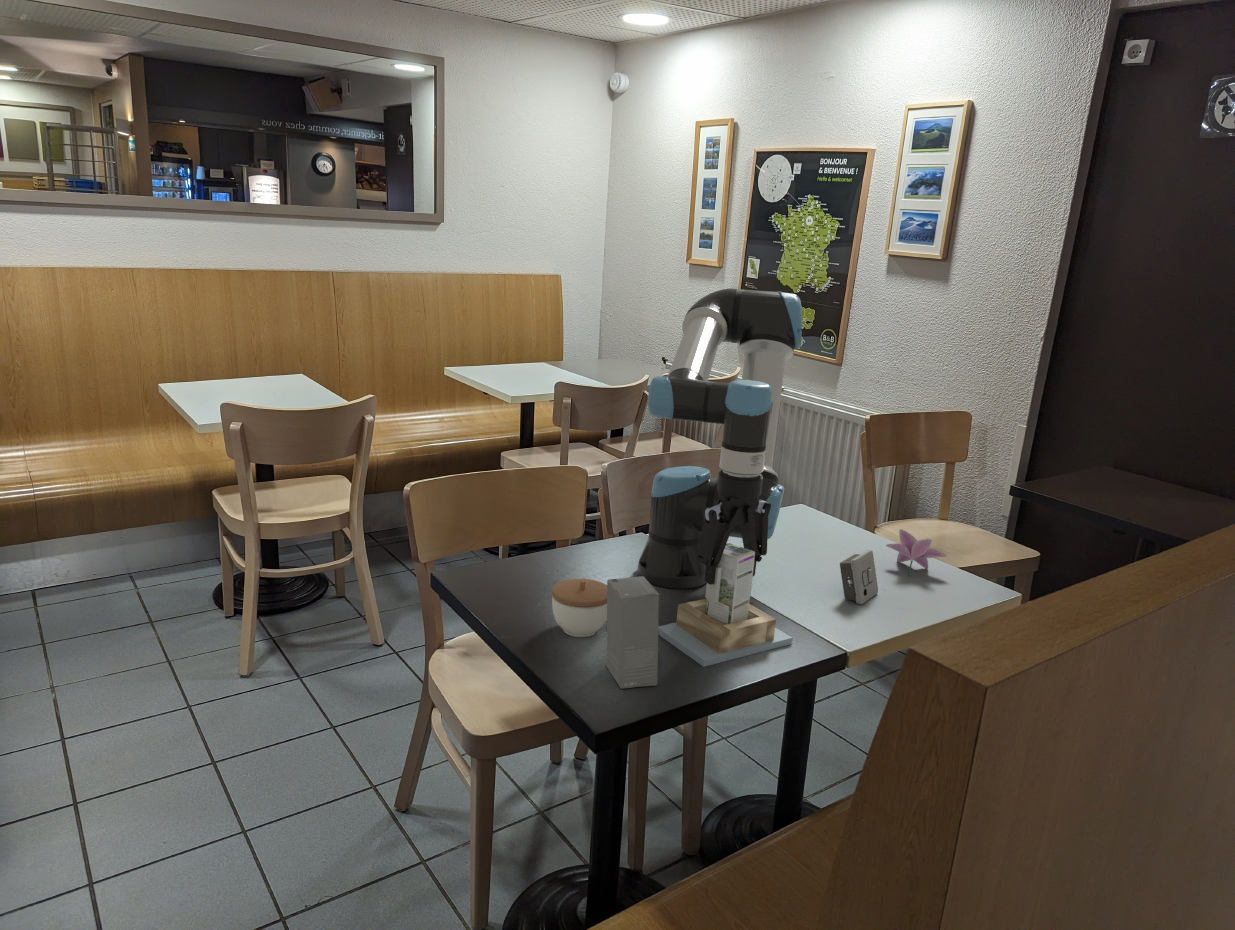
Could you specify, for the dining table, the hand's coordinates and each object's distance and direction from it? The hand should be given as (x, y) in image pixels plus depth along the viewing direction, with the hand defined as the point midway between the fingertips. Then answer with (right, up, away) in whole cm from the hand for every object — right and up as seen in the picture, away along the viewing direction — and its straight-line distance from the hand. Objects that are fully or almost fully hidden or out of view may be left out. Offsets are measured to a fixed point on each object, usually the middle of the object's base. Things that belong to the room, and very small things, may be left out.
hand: (728, 596), depth 152 cm
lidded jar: (-26, -6, +2) cm, 27 cm away
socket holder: (0, -8, +2) cm, 8 cm away
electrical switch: (+30, -4, +25) cm, 39 cm away
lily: (+47, -1, +42) cm, 63 cm away
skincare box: (-18, -11, -13) cm, 25 cm away
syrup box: (0, -6, +1) cm, 6 cm away
